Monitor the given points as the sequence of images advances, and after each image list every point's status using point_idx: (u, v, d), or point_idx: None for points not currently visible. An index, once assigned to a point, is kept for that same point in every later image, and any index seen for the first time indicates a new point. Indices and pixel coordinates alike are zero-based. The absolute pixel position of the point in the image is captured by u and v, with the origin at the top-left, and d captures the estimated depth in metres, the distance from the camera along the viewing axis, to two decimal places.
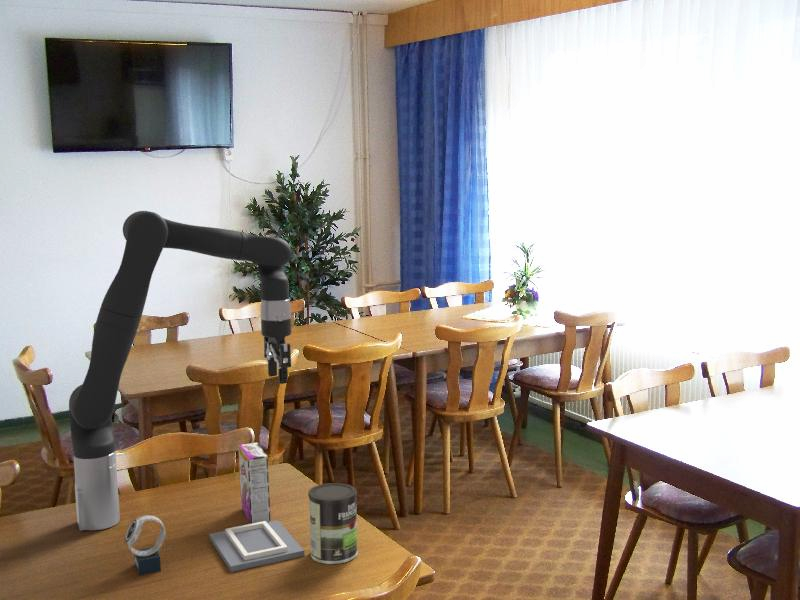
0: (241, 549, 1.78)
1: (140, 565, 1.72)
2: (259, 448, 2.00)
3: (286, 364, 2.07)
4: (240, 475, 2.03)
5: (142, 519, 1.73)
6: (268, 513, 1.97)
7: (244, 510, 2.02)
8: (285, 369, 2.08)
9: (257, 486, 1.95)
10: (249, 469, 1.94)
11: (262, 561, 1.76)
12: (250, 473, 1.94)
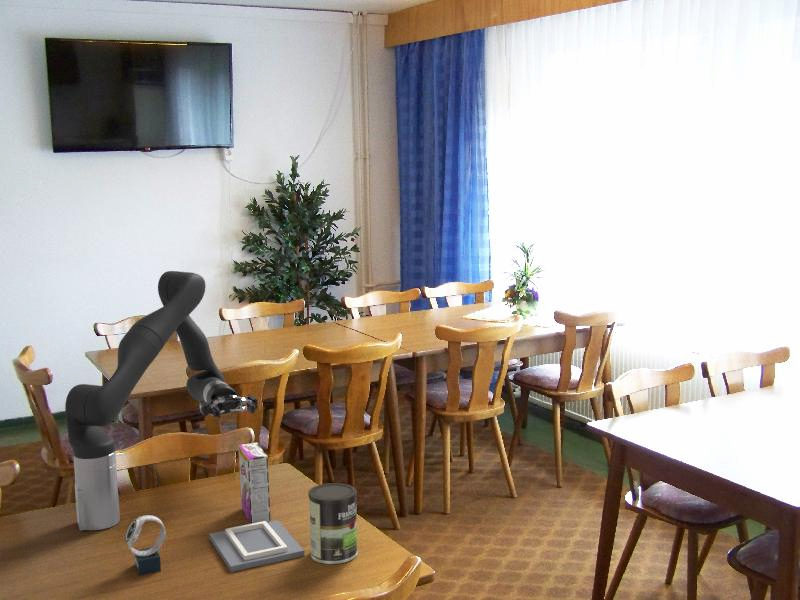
0: (241, 549, 1.78)
1: (140, 565, 1.72)
2: (259, 448, 2.00)
3: None
4: (240, 475, 2.03)
5: (142, 519, 1.73)
6: (268, 513, 1.97)
7: (244, 510, 2.02)
8: None
9: (257, 486, 1.95)
10: (249, 469, 1.94)
11: (262, 561, 1.76)
12: (250, 473, 1.94)
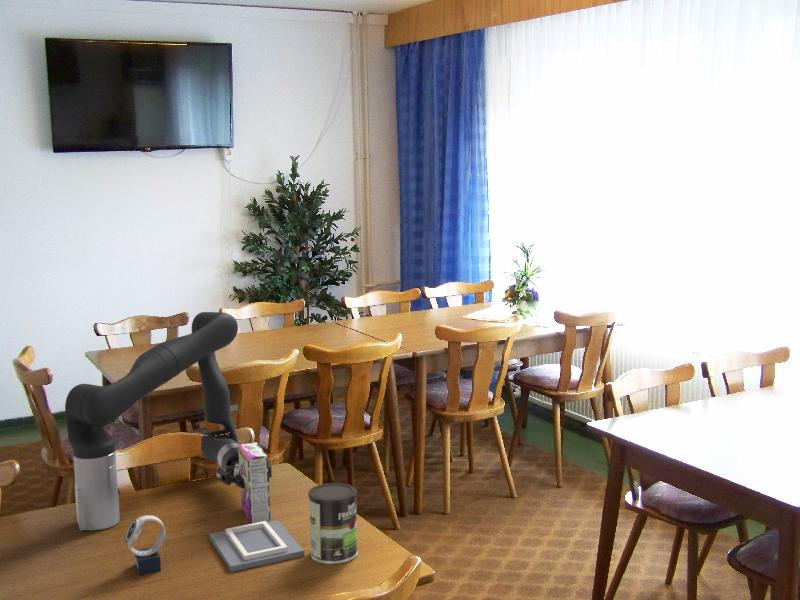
0: (241, 549, 1.78)
1: (140, 565, 1.72)
2: (259, 448, 2.00)
3: None
4: None
5: (142, 519, 1.73)
6: (268, 513, 1.97)
7: (244, 510, 2.02)
8: None
9: (257, 486, 1.95)
10: (249, 469, 1.94)
11: (262, 561, 1.76)
12: (250, 473, 1.94)
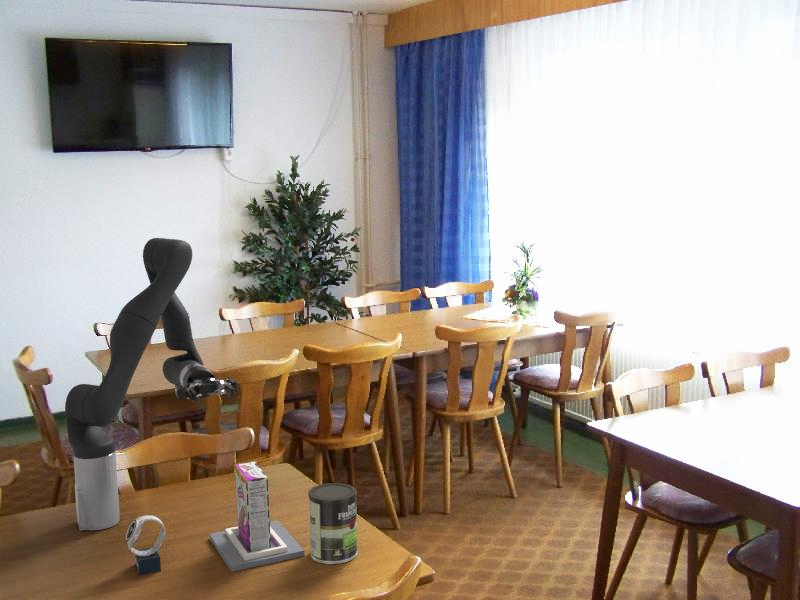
0: (241, 549, 1.78)
1: (140, 565, 1.72)
2: (258, 468, 1.83)
3: None
4: (237, 497, 1.85)
5: (142, 519, 1.73)
6: (268, 539, 1.80)
7: (241, 536, 1.84)
8: None
9: (256, 511, 1.78)
10: (247, 492, 1.76)
11: (262, 561, 1.76)
12: (249, 496, 1.77)
